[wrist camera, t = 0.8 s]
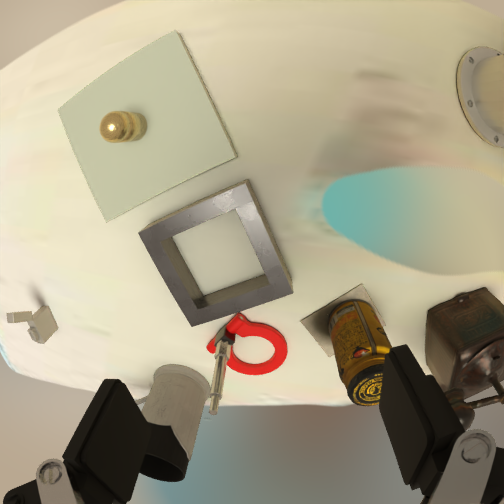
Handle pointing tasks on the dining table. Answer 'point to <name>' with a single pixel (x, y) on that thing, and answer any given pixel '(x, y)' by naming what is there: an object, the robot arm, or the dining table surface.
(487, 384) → the manual coffee grinder
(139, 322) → the dining table surface
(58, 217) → the dining table surface
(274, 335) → the tow hook
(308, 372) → the dining table surface
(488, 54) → the robot arm
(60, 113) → the plate
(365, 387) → the condiment
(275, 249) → the square metal frame
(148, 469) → the glass holder
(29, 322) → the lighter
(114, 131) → the post
